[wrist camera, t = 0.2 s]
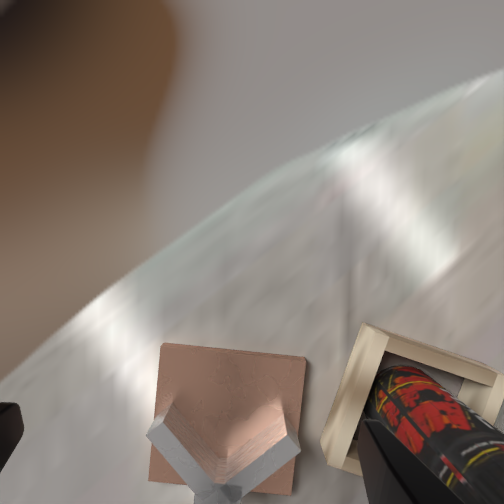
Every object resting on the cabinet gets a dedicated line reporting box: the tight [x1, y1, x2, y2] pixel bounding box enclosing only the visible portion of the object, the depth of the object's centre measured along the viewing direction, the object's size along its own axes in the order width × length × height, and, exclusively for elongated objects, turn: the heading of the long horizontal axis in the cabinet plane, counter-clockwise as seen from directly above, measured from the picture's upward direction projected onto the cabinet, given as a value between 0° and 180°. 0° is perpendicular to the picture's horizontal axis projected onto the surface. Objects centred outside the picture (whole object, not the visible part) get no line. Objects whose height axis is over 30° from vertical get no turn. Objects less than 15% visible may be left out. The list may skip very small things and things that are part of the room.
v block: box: [146, 343, 306, 504], centre depth 22 cm, size 10×11×3 cm
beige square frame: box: [320, 323, 504, 477], centre depth 22 cm, size 10×10×2 cm
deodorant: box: [364, 365, 504, 504], centre depth 16 cm, size 6×6×15 cm
